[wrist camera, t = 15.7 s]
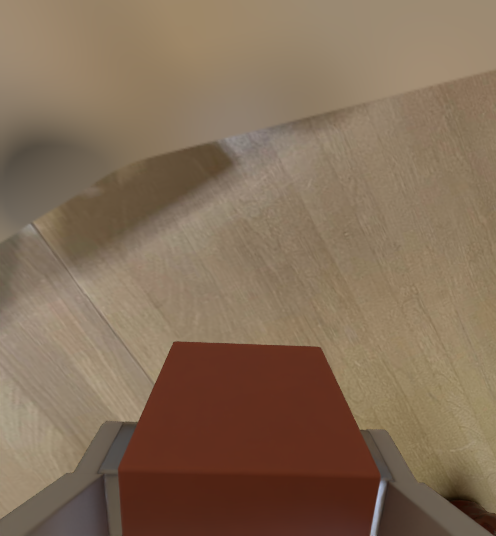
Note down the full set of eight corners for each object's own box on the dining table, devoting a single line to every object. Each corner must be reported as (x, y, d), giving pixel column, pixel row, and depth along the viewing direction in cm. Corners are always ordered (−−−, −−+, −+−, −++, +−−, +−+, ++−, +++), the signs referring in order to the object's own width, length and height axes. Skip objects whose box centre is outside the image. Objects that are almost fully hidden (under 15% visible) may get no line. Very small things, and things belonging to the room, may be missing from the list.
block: (173, 340, 10) (115, 468, 5) (321, 345, 10) (383, 475, 5) (174, 461, 11) (128, 649, 6) (307, 464, 11) (349, 651, 7)
